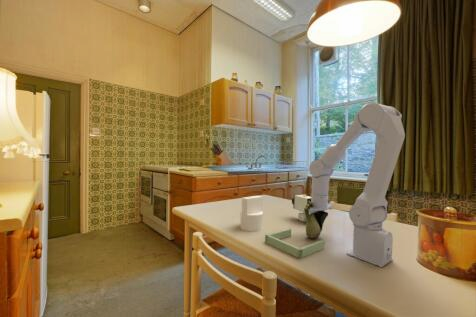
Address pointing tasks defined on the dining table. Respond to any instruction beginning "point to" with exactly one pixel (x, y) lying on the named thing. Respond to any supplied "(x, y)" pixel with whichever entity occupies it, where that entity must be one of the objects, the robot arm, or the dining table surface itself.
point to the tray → (293, 250)
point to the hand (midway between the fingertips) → (317, 231)
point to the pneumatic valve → (301, 205)
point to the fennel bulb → (311, 223)
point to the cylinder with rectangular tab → (252, 213)
